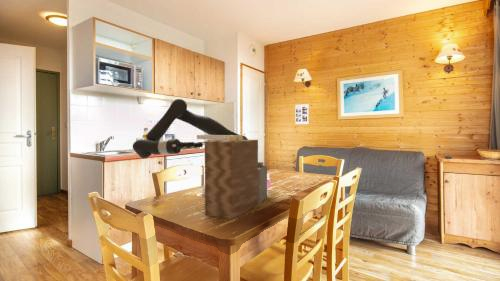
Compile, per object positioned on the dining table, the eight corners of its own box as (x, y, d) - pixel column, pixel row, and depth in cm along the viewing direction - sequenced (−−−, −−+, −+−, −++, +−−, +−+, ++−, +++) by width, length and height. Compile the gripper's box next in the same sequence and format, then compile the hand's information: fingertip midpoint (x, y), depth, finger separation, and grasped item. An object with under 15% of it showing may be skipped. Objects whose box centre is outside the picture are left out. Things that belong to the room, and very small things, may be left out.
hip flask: (259, 204, 133) (260, 164, 132) (252, 203, 134) (252, 164, 133) (267, 196, 148) (267, 160, 147) (260, 196, 149) (260, 160, 148)
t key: (192, 139, 123) (192, 135, 123) (204, 138, 130) (203, 134, 130) (232, 140, 112) (232, 135, 112) (242, 139, 119) (242, 135, 119)
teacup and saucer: (205, 192, 158) (205, 185, 158) (214, 194, 153) (214, 187, 153) (193, 195, 151) (193, 188, 151) (203, 198, 146) (203, 190, 146)
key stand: (205, 214, 118) (204, 138, 116) (233, 200, 139) (233, 136, 137) (232, 219, 111) (232, 139, 110) (257, 204, 133) (257, 137, 131)
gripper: (160, 138, 131) (190, 136, 126) (177, 140, 144) (204, 137, 140) (161, 154, 130) (191, 152, 125) (177, 154, 144) (205, 152, 139)
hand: (198, 144), depth 132 cm, fingers open, 8 cm apart
